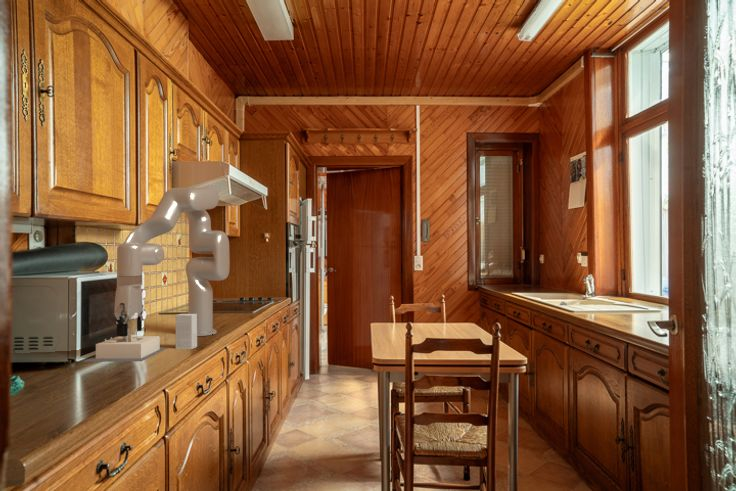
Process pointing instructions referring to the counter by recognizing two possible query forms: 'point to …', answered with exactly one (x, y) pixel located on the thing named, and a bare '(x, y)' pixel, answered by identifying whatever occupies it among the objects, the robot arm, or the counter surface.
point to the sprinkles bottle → (131, 329)
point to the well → (127, 348)
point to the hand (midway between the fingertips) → (129, 333)
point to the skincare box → (186, 331)
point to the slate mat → (125, 358)
